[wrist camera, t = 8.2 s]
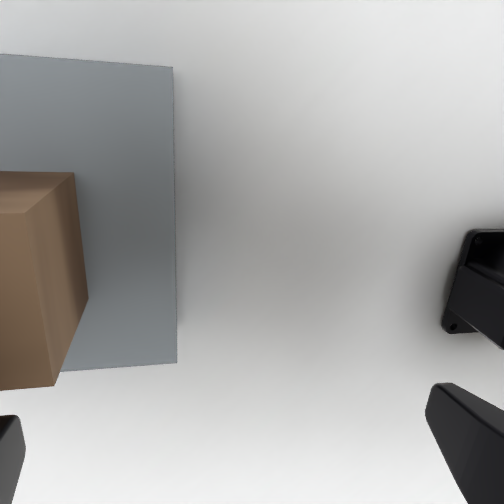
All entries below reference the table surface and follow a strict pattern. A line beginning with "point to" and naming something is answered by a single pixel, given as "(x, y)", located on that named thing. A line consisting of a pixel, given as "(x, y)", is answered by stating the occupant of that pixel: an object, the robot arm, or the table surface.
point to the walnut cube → (38, 276)
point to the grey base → (105, 192)
